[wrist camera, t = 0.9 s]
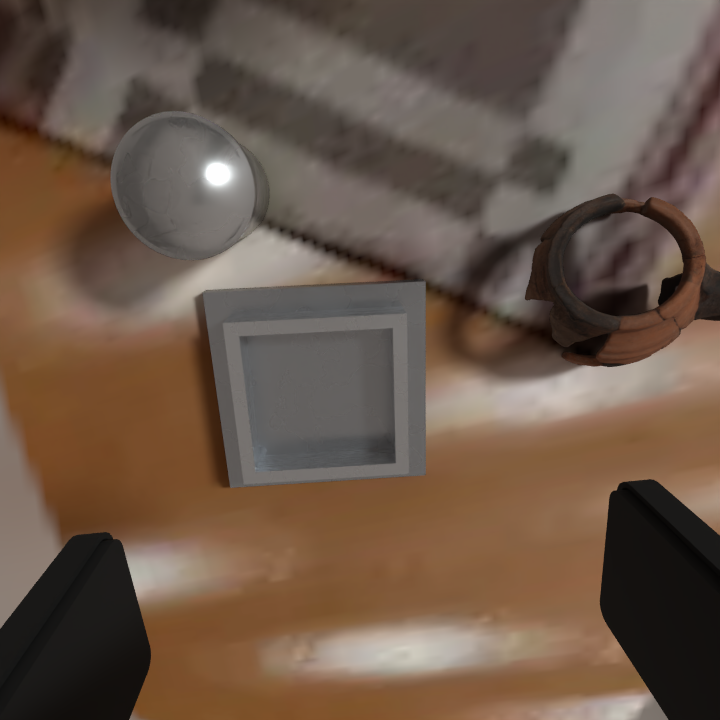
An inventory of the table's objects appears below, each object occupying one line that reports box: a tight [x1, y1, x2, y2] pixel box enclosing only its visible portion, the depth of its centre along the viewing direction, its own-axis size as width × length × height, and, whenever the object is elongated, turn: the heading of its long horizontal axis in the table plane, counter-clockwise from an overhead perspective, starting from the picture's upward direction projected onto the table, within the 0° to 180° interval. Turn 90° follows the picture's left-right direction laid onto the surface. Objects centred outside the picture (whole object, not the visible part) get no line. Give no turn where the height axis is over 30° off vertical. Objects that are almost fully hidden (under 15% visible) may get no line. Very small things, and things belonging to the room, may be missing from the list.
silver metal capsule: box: [111, 111, 270, 260], centre depth 24 cm, size 6×6×7 cm
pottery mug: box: [525, 194, 720, 367], centre depth 28 cm, size 12×10×8 cm
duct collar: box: [203, 279, 426, 488], centre depth 30 cm, size 13×13×3 cm
